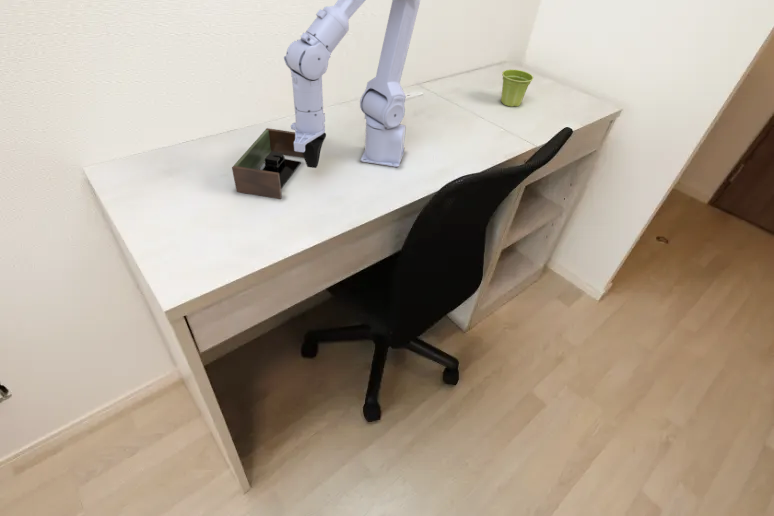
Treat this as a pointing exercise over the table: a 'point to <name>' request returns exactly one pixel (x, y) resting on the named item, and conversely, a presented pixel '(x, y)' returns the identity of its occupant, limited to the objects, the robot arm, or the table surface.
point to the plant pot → (514, 86)
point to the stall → (254, 157)
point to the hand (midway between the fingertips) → (312, 165)
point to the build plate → (280, 166)
